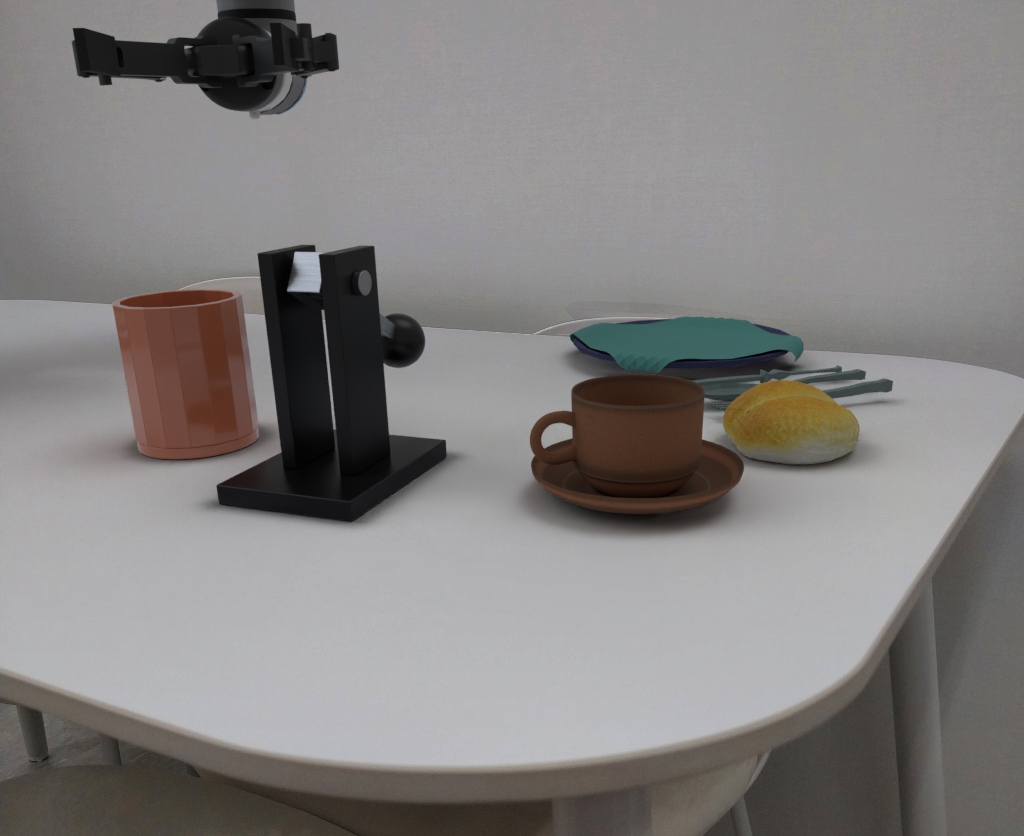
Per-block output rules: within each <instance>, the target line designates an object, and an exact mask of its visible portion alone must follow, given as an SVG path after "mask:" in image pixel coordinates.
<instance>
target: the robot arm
mask: <svg viewBox="0 0 1024 836" xmlns="http://www.w3.org/2000/svg"><path fill="white" fill-rule="evenodd" d="M215 1H216V10H217V18H216V19H214V20H212V21H210V22H209V23H207V24H206V25H205V26H204V27H202V28H201V30H200V31H199V32H198V34H197V36H195V37H184V36H183V37H181V36H178V37H171V38H168V39H167V41H166V42H151V41H137V40H136V41H135V40H118V39H116V37H115V36H113V35H110V34H106V33H103V32H100V31H96V30H93V29H89V28H85V27H72V32H73V38H74V39H72V40H71V46H72V53H73V59H74V64H75V69H76V75H77V77H80V78H81V77H82V79H90V78H93V77H94V78H95V77H96V78H97V79H98V81H99V82H98V84H99V86H103V87H105V86H112V85H113V80H112V79H115V78H116V79H129V80H130V79H131V80H146V81H154V82H155V83H162V82H165V81H166V80H167V78H170V79H171V80H172V82H173V83H175V84H176V85H197V86H198V87H199V89H200V90H201V92H202V93H203V94H204V95H205V97H206V98H208V99H209V100H210V101H211V102H213V103H214V104H216V105H217V106H219V107H220V108H223V109H226V110H230V111H235V112H241V113H242V112H243V113H245V112H247V113H248V116H249V118H250V119H251V120H259V119H260V118H261V116H272V115H282V114H284V113H286V112H289V111H290V110H291V109H294V107H296V106H297V105H298V104H299V103H300V101H301V100H302V98H303V97H304V95H305V92H306V89H307V85H308V79H309V78H310V77H311V78H312V76H313V75H318V74H322V73H327V72H336V71H338V70H340V59H339V50H338V49H339V48H338V37H337V34H335V33H332V32H324V34H322V35H317V36H314V37H313V33H312V32H313V31H312V30H313V29H312V23H308V22H304V23H303V22H300V23H299V22H297V14H296V8H295V7H296V6H295V0H215ZM185 47H187V48H185Z"/></svg>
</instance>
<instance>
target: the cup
mask: <svg viewBox="0 0 1024 836" xmlns="http://www.w3.org/2000/svg"><path fill="white" fill-rule="evenodd" d="M111 305H112V310H113V311H112V312H113V316H114V322H115V327H116V334H117V339H118V345H119V350H120V356H121V362H122V367H123V373H124V379H125V385H126V390H127V395H128V396H127V397H128V402H129V407H130V413H131V417H132V423H133V430H134V435H135V441H136V448H137V450H138V452H139V453H140V454H141V455H144V456H146V457H149V458H153V459H160V460H161V459H162V460H193V459H194V460H195V459H203V458H210V457H215V456H221V455H224V454H229V453H232V452H236V451H239V450H241V449H244V448H247V447H249V446H251V445H252V444H254V443H255V442H256V441H257V440H258V439H259V437H260V432H259V418H258V409H257V403H256V394H255V386H254V379H253V371H252V363H251V356H250V355H251V354H250V348H249V347H250V346H249V340H248V332H247V331H248V330H247V324H246V317H245V309H244V308H245V307H244V301H243V295H242V293H240V291H237V290H231V289H220V288H219V289H217V288H196V289H190V288H189V289H176V290H164V291H162V290H161V291H155V292H147V293H140V294H134V295H130V296H126V297H121V298H119V299H116V300H114V301H112V302H111Z"/></svg>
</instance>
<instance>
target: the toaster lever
mask: <svg viewBox="0 0 1024 836" xmlns="http://www.w3.org/2000/svg"><path fill="white" fill-rule="evenodd" d="M327 252H328V251H316V252H295V254H294V258H293V263H292V268H291V273H290V278H289V283H288V288H287V292H288V293H290V294H291V295H293V296H294V297H296V298H297V299H298V300H300V301H301V302H303V303H304V304H306V305H307V306H308V307H310V308H311V309H313V310H322V311H324V304H323V294H322V284H321V274H320V263H319V254H323V253H327ZM380 325H381V337H382V350H383V363H384V366H387V367H390V368H395V369H404V368H407V367H410V366H412V365H414V364H415V363H416V362H417V361H419V359H420V358H421V356H422V355H423V353H424V352H425V351H424V350H425V347H426V335H425V331H424V329H423V327H422V326H421V324H420V323H419V322H418V320H416V319H415V318H414V317H412V316H411V315H408V314H406V313H401V312H395V313H389V314H387V315H385V316H384V315H383V314H382V313H380Z"/></svg>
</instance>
